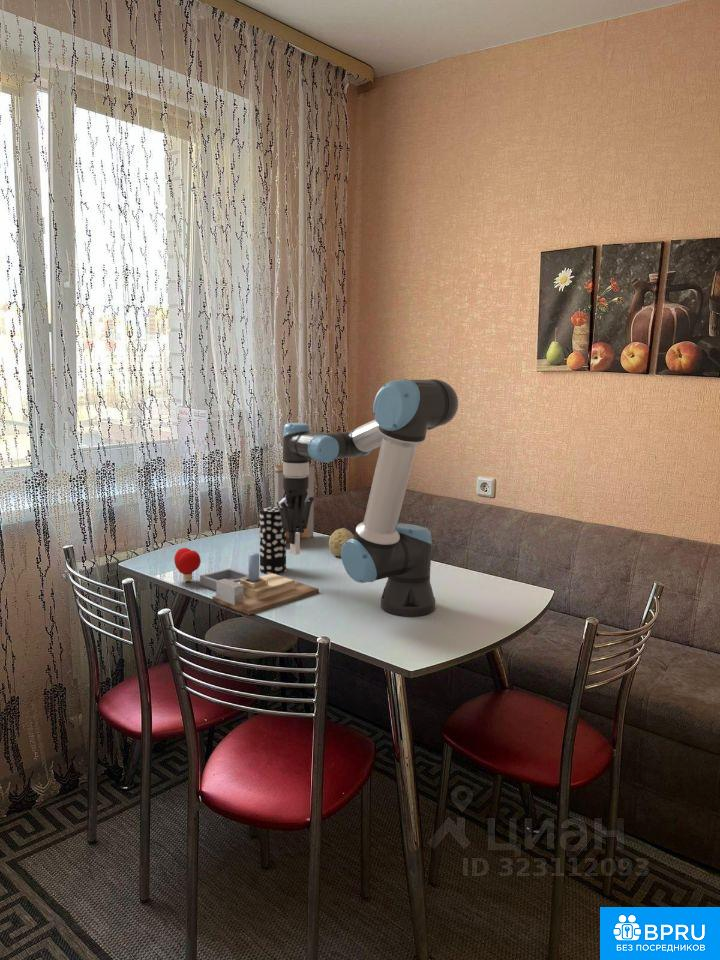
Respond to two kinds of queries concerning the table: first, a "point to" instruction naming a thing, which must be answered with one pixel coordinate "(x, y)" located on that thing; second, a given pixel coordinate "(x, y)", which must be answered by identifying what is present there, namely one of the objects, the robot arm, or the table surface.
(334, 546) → the coral
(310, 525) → the cabinet
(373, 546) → the robot arm
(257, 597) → the wooden block with recess
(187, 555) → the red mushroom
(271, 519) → the spotted tube
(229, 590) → the block
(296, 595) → the board
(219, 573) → the tray
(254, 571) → the dowel
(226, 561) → the table surface
